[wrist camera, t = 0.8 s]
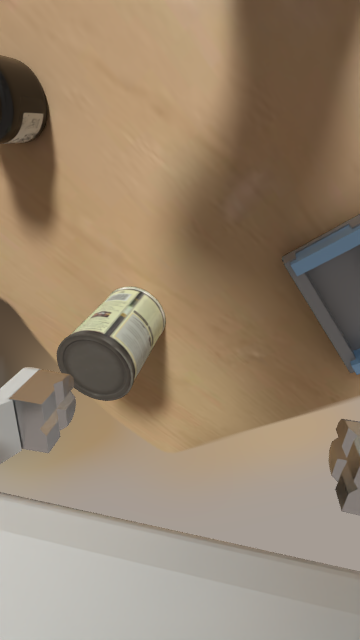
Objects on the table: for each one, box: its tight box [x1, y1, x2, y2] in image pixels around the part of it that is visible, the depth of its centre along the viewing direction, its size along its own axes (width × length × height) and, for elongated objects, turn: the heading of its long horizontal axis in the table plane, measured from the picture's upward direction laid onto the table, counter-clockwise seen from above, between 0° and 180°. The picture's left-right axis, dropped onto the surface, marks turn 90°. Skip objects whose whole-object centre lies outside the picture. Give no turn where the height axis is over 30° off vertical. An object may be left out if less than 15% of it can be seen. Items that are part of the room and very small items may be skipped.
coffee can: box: [57, 287, 165, 401], centre depth 47 cm, size 10×10×14 cm
